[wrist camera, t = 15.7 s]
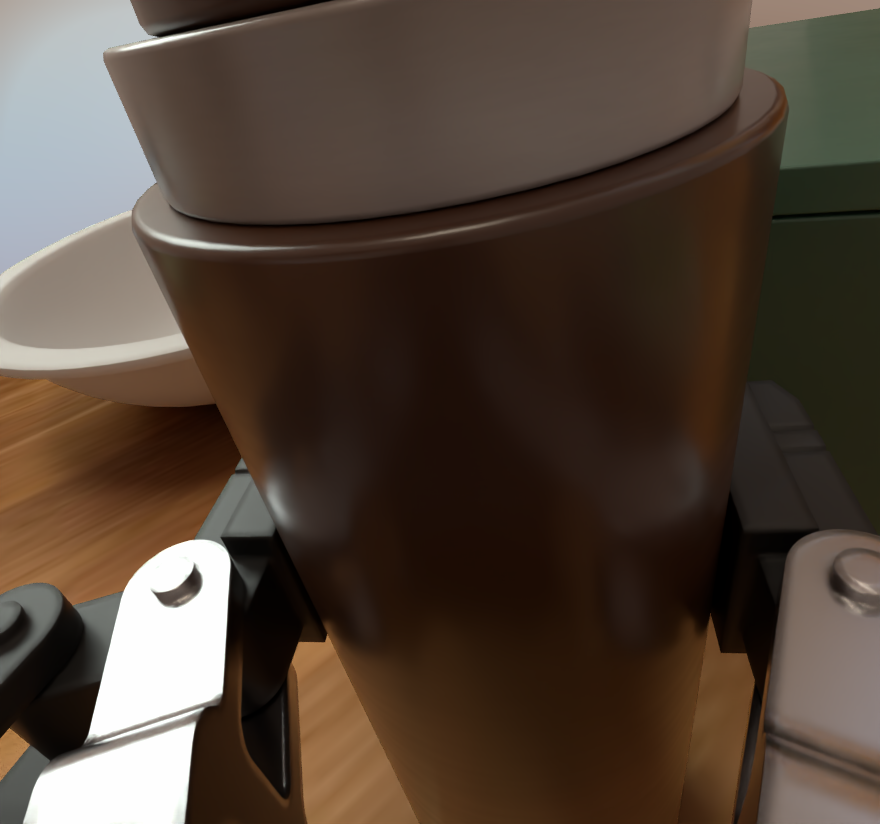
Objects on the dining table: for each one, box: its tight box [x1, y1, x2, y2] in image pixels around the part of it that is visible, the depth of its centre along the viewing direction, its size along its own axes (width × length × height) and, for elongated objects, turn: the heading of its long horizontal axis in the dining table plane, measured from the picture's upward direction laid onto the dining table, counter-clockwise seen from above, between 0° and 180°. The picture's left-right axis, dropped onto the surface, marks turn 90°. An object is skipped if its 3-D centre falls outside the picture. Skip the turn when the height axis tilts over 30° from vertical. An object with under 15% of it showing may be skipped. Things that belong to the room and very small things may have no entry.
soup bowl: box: [0, 210, 216, 407], centre depth 31 cm, size 24×24×7 cm
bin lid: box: [745, 8, 880, 216], centre depth 14 cm, size 14×16×4 cm
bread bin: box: [747, 210, 880, 536], centre depth 19 cm, size 14×16×11 cm
